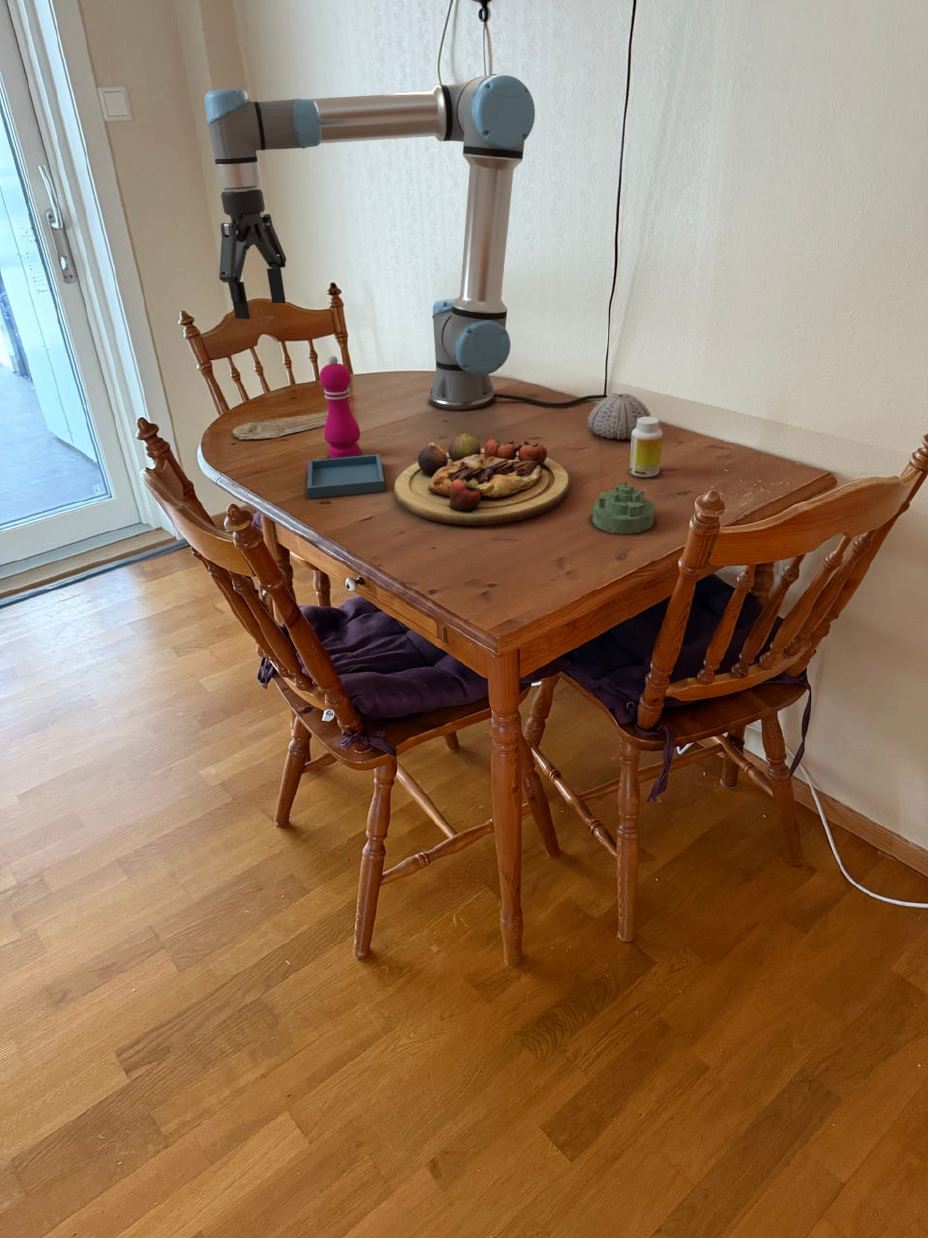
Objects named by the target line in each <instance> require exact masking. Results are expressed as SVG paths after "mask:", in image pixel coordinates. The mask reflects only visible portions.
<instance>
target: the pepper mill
mask: <svg viewBox="0 0 928 1238" xmlns="http://www.w3.org/2000/svg"><path fill="white" fill-rule="evenodd" d="M338 359H339V358H338V357H337V356H335V355H331V356H329V358H328V364H326V365H325V366H323V367H322V368H321V370H320V373H319V382H320V384H321V386H322V387H323V388H324V389H323V393H324V398H325V399H326V401H327V407H328V410H327V412H328V417H327V421H326V424H325V426H324V429H323V430H324V431H323V433H324V435H323V436H324V440H325V441H326V443H327V444H328V445H329V446H328V455H329V458H330V459H331V458H342V457H353V456H360V454H361V451H360V450H361V449H360V444H359V443H357V442H358V441H359V440H360V438H361V430H360V426H359V423H358V421H357V419H356V418H355V417H354V414H353V412H352V410H351V406H350V403H349V401H350V400H349V397H350V396H351V392H350V388H349V385H350V383H351V380H352V375H351V372H350V371H349V368H348V367H347V366H345V364H342V363H338V362H339V360H338Z"/></svg>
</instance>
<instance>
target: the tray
mask: <svg viewBox="0 0 928 1238" xmlns="http://www.w3.org/2000/svg"><path fill="white" fill-rule="evenodd" d="M307 463H308V464H307V465H308V466H307V484H306V485H307V486H306V487H307V488H306V489H307V494H308V496H307V497H308V499H309V500H310V499H320V498H329V497H340V496H351V495H361V494H370V493H371V494H372V493H381V492H386V488H385V479H384V472H383V466H382V459H381V454H380V453H378V454H365V455H358V456H353V457H342V458H331V457H330V458H322V459H321V458H320V459H312V460H311V459H309V460H308V462H307Z"/></svg>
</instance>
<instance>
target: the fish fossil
mask: <svg viewBox="0 0 928 1238" xmlns="http://www.w3.org/2000/svg"><path fill="white" fill-rule="evenodd" d="M327 417H328V411H327V412H318V413H317V412H316V413H311V414H310V413H308V414H304V415H295V416H288V417H276V418H266V419H258V420H257V421H252V422H251V421H250V422H246V423H243V424H240V425H238V426H236V427H234V428H233V430H232V434H233V435H234V436H235V437H236V438H237V439H238V440H266V439H274V438H281V437H282V436H285V435H290V434H294V433H299V432H304V431H309V430H312V429H316V428H320V427H325V424H326V421H327Z"/></svg>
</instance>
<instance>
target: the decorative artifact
mask: <svg viewBox="0 0 928 1238" xmlns="http://www.w3.org/2000/svg"><path fill="white" fill-rule="evenodd" d="M644 493H645V491H644V490H642V489H639V488H635V487H634V485H632V484H628V481H627V480H623V484H620V485H619V484H617V485H616V487H615V488H614V489H613V490H610V491H608V492H605V491H601V492H600V493H599V495H598V499H597V500H595V501H594V503H593V505H592V506H593V507H592V523H593V524H594V526H595V527H597V528H598V529H600V530H602V531H604V532H607V533H612V534H619V535H632V534H638V533H642V532H645V531H647V530H649V529H650V528H652V527H653V525H654V523H655V522H654V521H655V510H656V509H655V508H656V506H655V504H654V503H653V502H652V500H649V499H648V498H646V497H645V495H644Z"/></svg>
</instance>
